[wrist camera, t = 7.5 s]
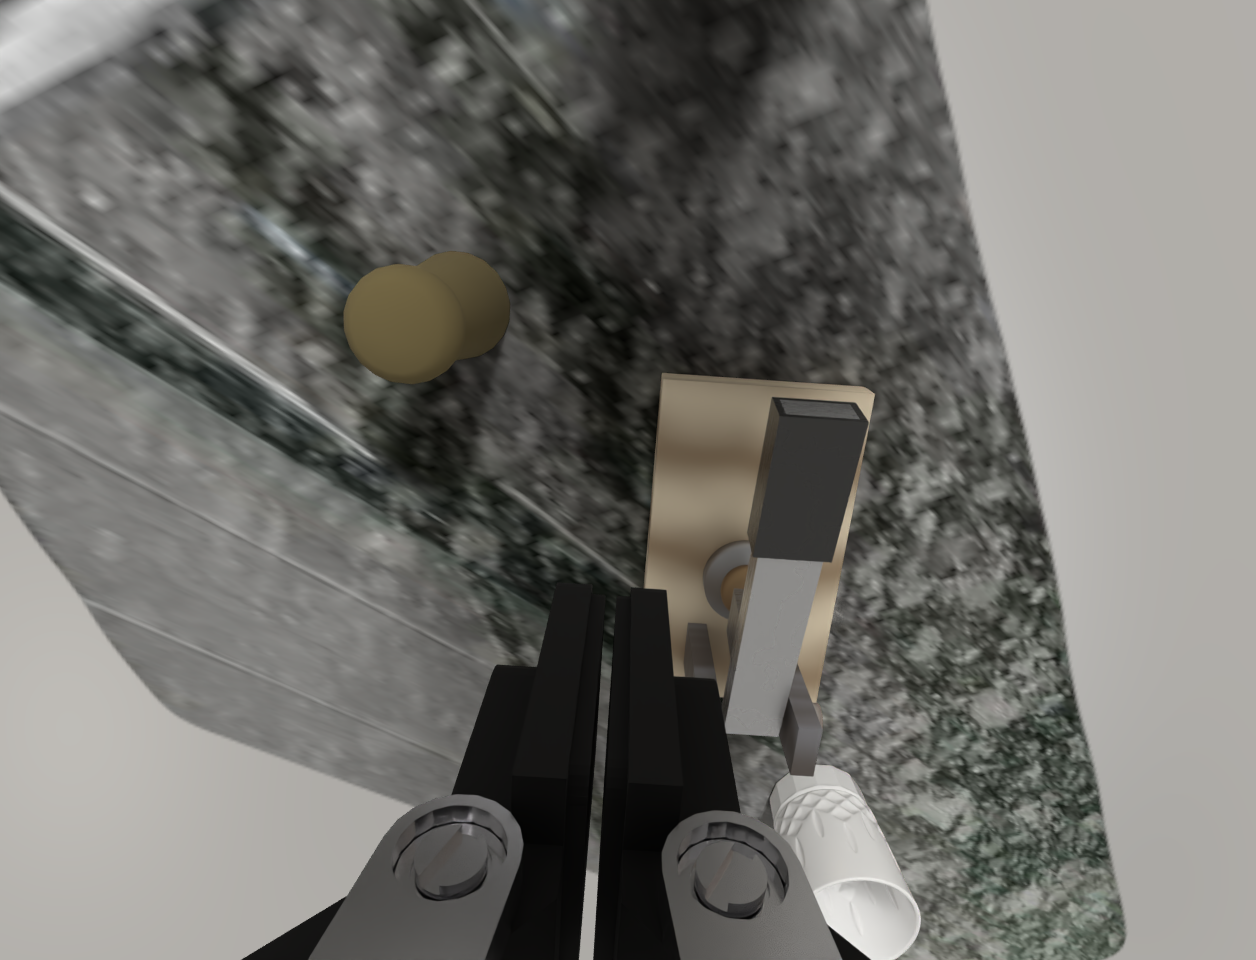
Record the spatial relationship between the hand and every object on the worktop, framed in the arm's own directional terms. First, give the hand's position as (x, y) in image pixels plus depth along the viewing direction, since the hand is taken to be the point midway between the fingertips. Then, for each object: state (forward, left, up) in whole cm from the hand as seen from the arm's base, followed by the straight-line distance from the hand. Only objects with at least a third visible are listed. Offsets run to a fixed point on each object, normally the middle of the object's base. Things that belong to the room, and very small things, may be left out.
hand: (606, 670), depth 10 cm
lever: (+9, +8, -23) cm, 26 cm away
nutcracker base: (+12, +8, -31) cm, 34 cm away
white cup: (+32, +16, -31) cm, 48 cm away
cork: (-2, -10, -31) cm, 33 cm away
